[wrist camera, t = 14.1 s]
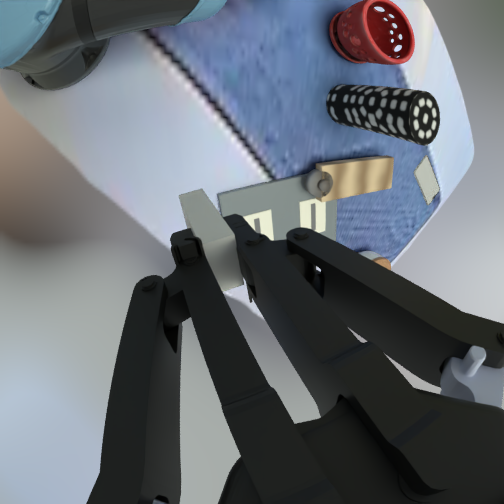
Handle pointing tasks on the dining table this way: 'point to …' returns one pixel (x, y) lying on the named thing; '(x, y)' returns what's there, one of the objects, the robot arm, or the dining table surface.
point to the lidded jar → (376, 258)
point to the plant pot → (372, 33)
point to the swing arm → (349, 177)
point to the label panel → (280, 208)
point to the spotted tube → (386, 111)
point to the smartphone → (426, 180)
